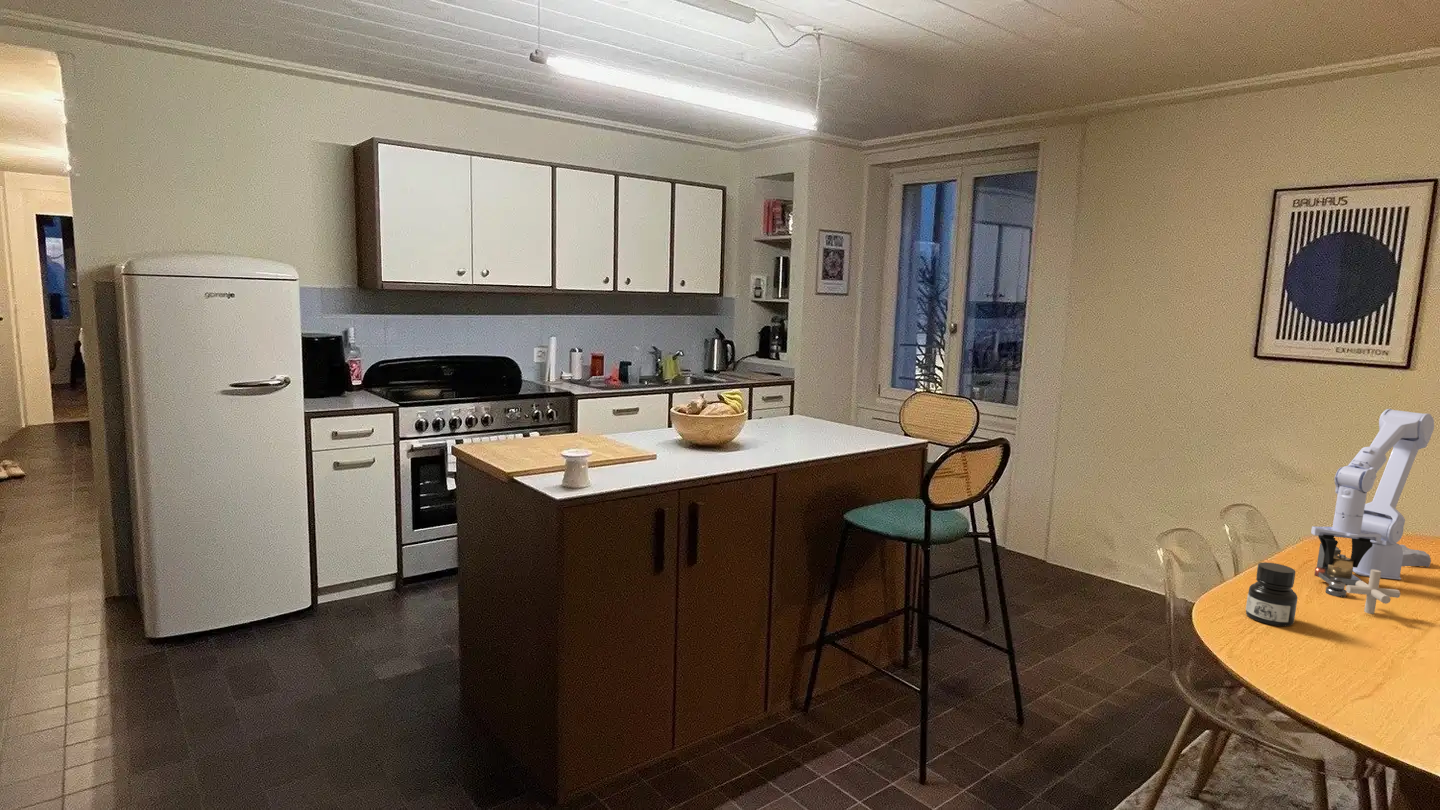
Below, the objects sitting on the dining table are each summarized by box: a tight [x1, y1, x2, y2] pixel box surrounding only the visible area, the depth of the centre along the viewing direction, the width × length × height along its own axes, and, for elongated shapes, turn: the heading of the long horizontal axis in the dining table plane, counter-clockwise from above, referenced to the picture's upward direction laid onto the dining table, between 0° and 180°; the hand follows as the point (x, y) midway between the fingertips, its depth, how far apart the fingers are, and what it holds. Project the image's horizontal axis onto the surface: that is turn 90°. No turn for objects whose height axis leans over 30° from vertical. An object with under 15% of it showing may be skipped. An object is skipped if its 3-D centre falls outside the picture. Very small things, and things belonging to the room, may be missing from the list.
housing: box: [1327, 553, 1354, 578], centre depth 203 cm, size 5×5×5 cm
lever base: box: [1324, 577, 1347, 598], centre depth 193 cm, size 4×4×4 cm
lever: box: [1314, 566, 1346, 591], centre depth 197 cm, size 3×11×2 cm, turn 165°
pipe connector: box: [1345, 569, 1401, 615], centre depth 181 cm, size 10×10×10 cm
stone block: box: [1399, 544, 1432, 568], centre depth 222 cm, size 12×5×10 cm
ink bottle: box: [1245, 561, 1298, 627], centre depth 175 cm, size 10×9×12 cm
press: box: [1316, 542, 1363, 586], centre depth 206 cm, size 7×12×7 cm, turn 165°
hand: (1340, 564), depth 203 cm, fingers closed on housing, 5 cm apart
